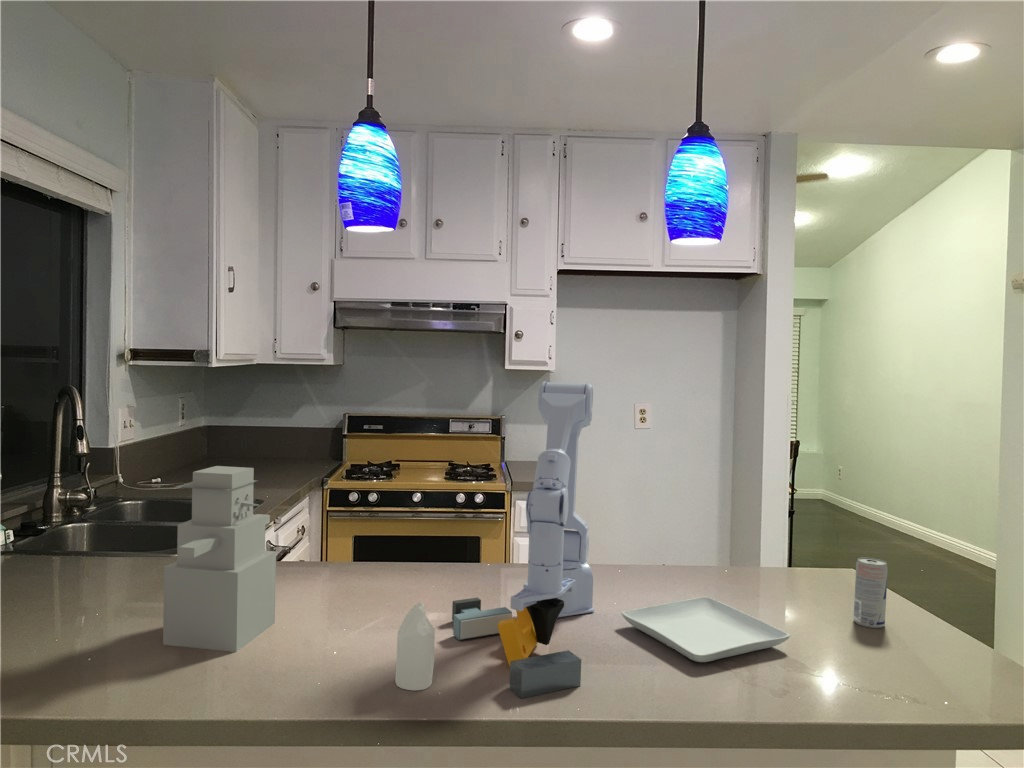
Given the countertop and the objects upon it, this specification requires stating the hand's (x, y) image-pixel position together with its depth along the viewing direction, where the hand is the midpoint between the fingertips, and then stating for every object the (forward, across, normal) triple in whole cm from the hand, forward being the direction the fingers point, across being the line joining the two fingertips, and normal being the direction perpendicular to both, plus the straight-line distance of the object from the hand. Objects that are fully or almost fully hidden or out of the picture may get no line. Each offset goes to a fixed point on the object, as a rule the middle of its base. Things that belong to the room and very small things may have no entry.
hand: (542, 643), depth 119 cm
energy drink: (+2, -55, +35) cm, 65 cm away
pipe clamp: (+1, +3, -2) cm, 4 cm away
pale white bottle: (+2, +22, -6) cm, 23 cm away
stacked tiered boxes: (+2, +34, -43) cm, 55 cm away
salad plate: (+2, -25, +16) cm, 30 cm away
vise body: (+2, +9, +8) cm, 12 cm away
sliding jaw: (+1, +1, -15) cm, 15 cm away
